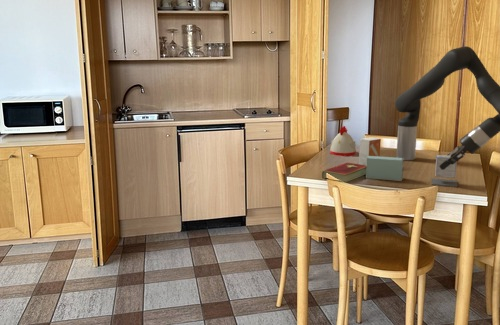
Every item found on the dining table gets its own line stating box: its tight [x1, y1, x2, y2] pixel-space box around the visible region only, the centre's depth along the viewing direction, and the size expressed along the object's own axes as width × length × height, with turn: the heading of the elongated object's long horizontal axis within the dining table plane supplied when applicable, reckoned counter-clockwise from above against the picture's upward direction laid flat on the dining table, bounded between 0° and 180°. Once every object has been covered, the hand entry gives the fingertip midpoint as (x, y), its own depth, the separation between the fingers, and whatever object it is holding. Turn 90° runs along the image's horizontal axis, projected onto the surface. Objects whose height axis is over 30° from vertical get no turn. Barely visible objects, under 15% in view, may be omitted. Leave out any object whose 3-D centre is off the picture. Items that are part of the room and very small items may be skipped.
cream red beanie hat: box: [329, 125, 357, 157], centre depth 260 cm, size 14×14×15 cm
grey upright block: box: [434, 154, 458, 179], centre depth 199 cm, size 8×4×9 cm, turn 71°
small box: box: [358, 136, 382, 165], centre depth 234 cm, size 8×6×13 cm
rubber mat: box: [430, 177, 458, 188], centre depth 201 cm, size 9×10×1 cm
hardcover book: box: [321, 162, 367, 183], centre depth 215 cm, size 12×21×4 cm, turn 138°
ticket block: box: [365, 156, 405, 182], centre depth 209 cm, size 5×15×9 cm, turn 69°
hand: (440, 166), depth 200 cm, fingers closed on grey upright block, 4 cm apart
